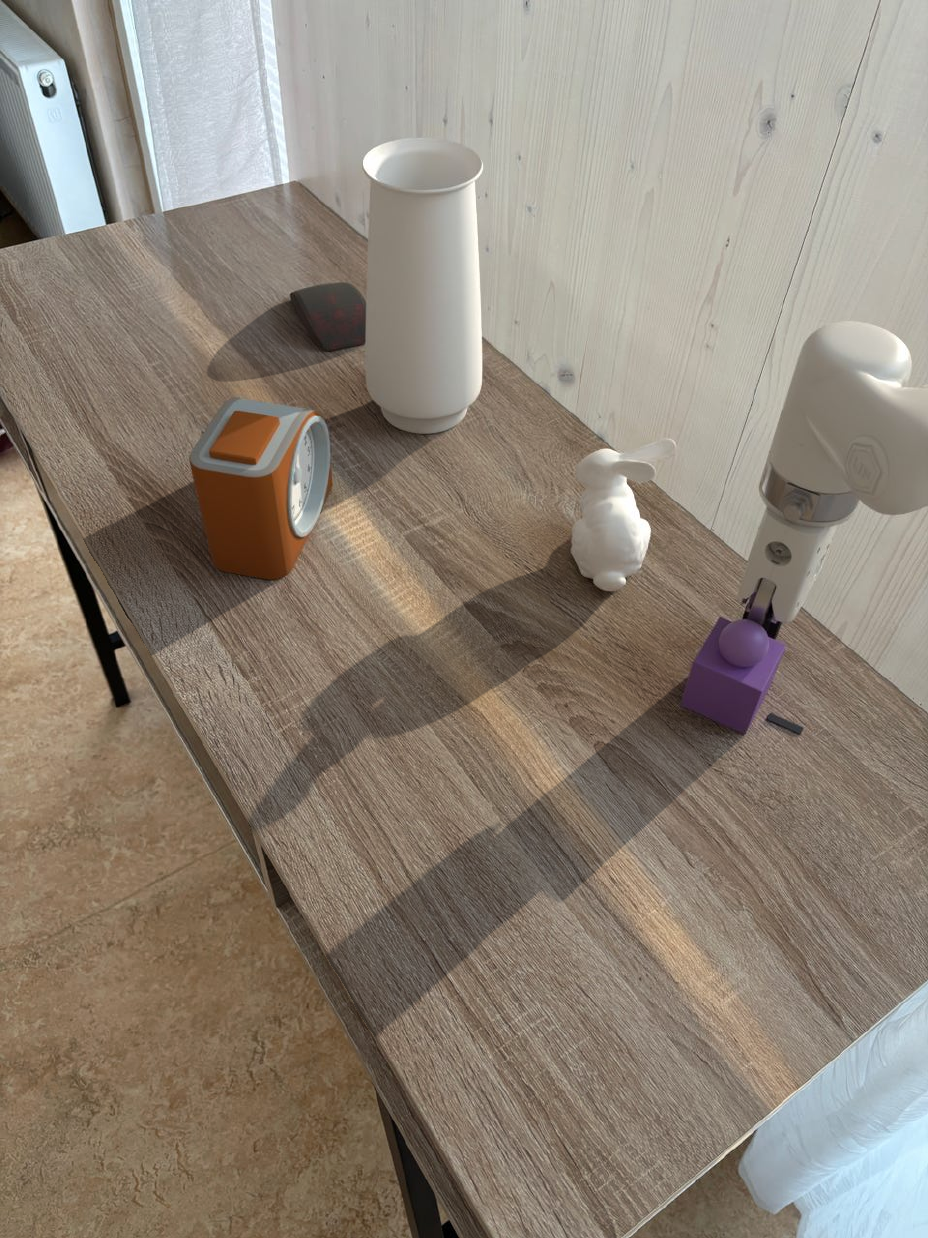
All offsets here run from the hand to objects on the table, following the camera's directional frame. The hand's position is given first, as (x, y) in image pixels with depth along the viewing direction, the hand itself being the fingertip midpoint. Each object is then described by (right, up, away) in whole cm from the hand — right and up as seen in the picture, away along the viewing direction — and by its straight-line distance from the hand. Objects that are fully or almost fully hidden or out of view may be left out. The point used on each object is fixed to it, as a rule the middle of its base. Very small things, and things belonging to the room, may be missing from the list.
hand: (756, 637), depth 92 cm
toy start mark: (+1, -7, -5) cm, 9 cm away
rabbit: (-12, +8, +10) cm, 18 cm away
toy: (-4, -5, -3) cm, 7 cm away
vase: (-31, +26, +25) cm, 47 cm away
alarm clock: (-46, +11, +11) cm, 48 cm away
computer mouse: (-43, +39, +37) cm, 69 cm away
